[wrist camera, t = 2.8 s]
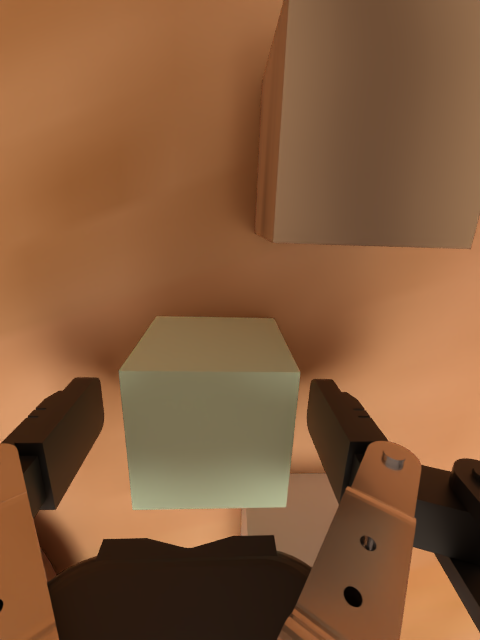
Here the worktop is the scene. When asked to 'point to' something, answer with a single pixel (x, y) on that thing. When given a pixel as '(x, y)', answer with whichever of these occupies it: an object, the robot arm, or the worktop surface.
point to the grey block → (296, 517)
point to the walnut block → (371, 124)
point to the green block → (209, 414)
